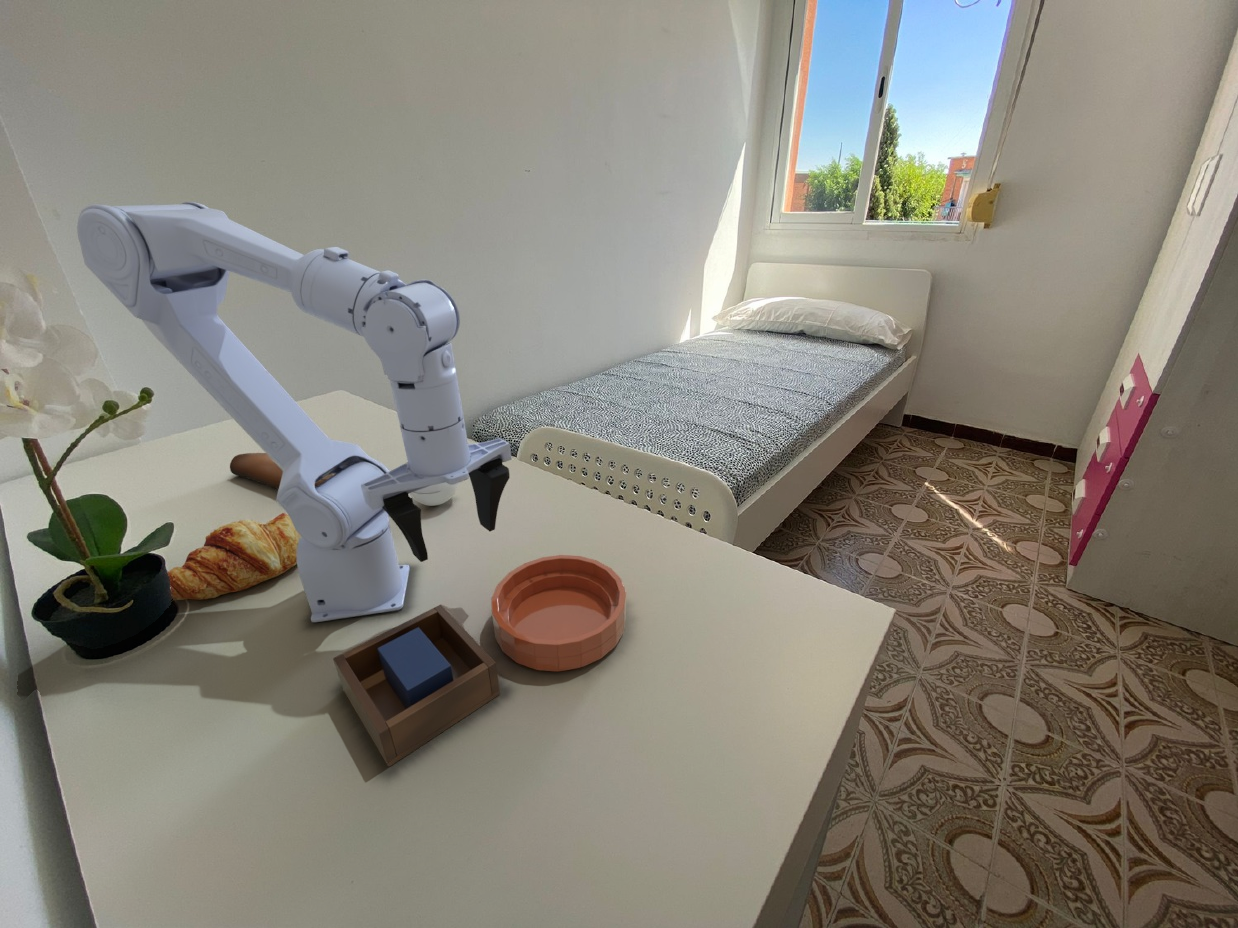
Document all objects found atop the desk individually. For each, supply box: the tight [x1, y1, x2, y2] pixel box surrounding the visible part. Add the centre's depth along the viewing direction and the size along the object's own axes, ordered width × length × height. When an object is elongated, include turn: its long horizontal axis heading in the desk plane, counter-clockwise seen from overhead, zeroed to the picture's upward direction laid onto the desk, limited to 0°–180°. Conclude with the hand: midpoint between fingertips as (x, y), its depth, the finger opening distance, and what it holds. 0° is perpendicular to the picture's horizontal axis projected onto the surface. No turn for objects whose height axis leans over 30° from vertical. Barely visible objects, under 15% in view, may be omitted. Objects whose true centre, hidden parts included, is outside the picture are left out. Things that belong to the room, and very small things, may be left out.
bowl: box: [490, 554, 627, 672], centre depth 58 cm, size 14×14×4 cm
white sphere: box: [409, 483, 459, 507], centre depth 80 cm, size 10×7×7 cm
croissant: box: [166, 512, 301, 601], centre depth 67 cm, size 21×10×8 cm, turn 141°
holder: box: [332, 604, 501, 768], centre depth 50 cm, size 11×11×4 cm
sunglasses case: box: [229, 452, 335, 490], centre depth 88 cm, size 18×7×7 cm, turn 63°
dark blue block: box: [378, 627, 454, 709], centre depth 50 cm, size 4×6×4 cm, turn 43°
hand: (455, 541), depth 57 cm, fingers open, 7 cm apart
